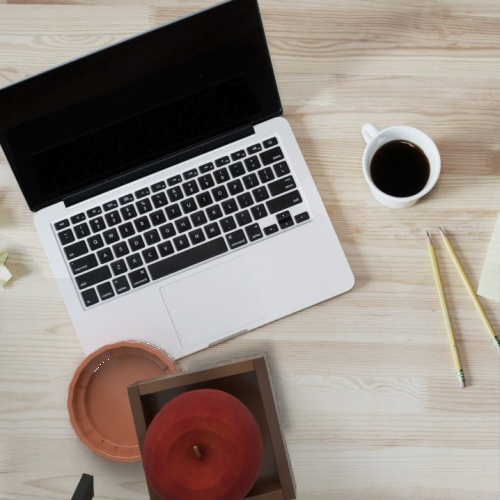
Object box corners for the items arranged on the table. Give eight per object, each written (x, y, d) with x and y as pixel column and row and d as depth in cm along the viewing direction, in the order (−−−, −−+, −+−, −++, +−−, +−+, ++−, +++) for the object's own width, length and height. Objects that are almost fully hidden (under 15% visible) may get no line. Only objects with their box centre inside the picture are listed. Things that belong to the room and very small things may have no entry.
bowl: (88, 467, 88) (80, 473, 85) (65, 353, 89) (56, 356, 86) (200, 442, 87) (196, 448, 84) (175, 329, 88) (170, 330, 85)
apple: (283, 468, 62) (279, 501, 52) (180, 506, 62) (157, 546, 52) (244, 365, 63) (234, 378, 53) (143, 403, 63) (114, 423, 53)
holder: (164, 514, 63) (155, 528, 59) (136, 381, 64) (126, 386, 60) (296, 486, 63) (296, 499, 59) (266, 352, 64) (263, 356, 60)
